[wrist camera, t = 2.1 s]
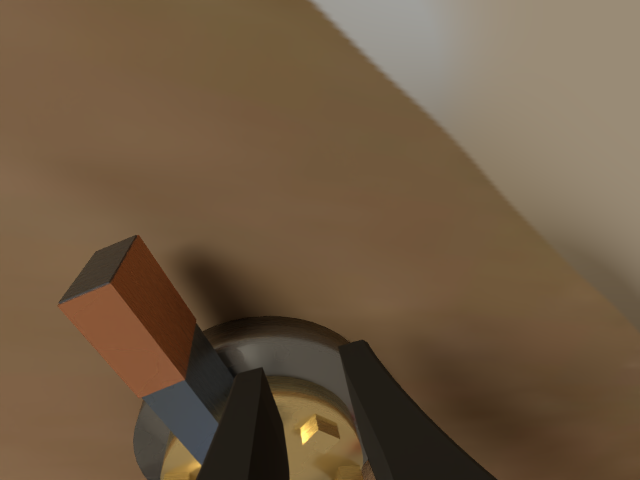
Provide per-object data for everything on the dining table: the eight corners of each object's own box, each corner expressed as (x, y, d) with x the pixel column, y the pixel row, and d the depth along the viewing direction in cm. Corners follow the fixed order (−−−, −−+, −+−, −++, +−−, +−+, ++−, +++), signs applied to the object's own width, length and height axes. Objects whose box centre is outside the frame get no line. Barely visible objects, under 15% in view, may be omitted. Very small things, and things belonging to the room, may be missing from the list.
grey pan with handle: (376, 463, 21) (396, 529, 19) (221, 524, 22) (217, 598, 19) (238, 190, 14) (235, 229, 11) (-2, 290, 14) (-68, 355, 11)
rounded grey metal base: (382, 448, 25) (393, 479, 23) (189, 501, 24) (184, 538, 22) (355, 290, 19) (366, 315, 17) (102, 353, 18) (86, 386, 17)
